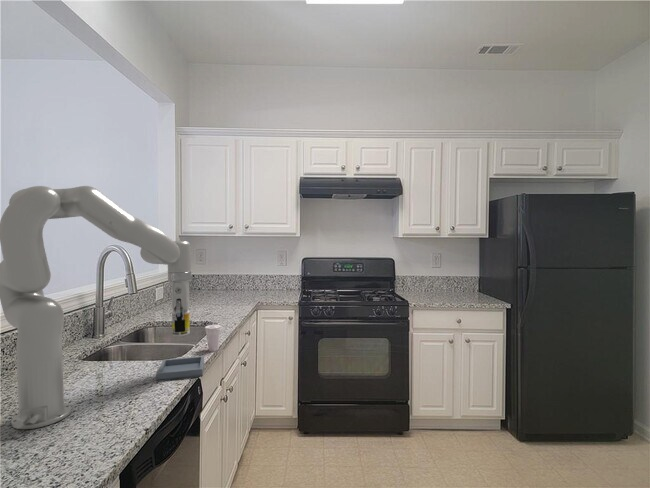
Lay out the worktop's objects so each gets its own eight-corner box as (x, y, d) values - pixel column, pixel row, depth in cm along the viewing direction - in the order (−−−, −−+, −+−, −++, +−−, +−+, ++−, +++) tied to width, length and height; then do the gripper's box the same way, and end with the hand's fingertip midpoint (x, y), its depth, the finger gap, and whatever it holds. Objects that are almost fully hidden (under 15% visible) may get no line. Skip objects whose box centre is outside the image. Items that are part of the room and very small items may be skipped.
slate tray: (202, 376, 128) (202, 369, 128) (157, 381, 124) (156, 373, 124) (204, 362, 141) (204, 356, 141) (163, 366, 138) (163, 359, 138)
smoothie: (209, 353, 152) (208, 318, 152) (202, 349, 157) (202, 315, 156) (224, 350, 156) (223, 316, 156) (217, 346, 161) (216, 313, 161)
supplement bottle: (191, 332, 135) (190, 303, 135) (187, 336, 130) (186, 306, 129) (175, 332, 135) (174, 303, 134) (170, 337, 129) (169, 306, 129)
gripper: (189, 279, 124) (190, 335, 125) (193, 274, 141) (194, 323, 141) (164, 280, 122) (165, 336, 123) (171, 274, 139) (172, 324, 139)
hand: (181, 329), depth 132 cm, fingers closed on supplement bottle, 5 cm apart
